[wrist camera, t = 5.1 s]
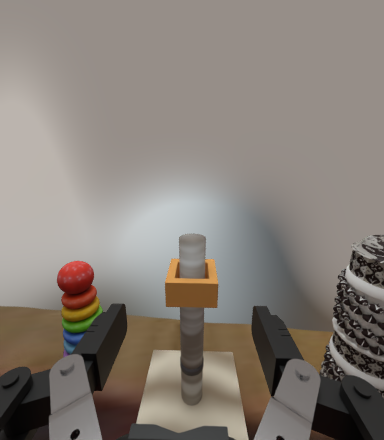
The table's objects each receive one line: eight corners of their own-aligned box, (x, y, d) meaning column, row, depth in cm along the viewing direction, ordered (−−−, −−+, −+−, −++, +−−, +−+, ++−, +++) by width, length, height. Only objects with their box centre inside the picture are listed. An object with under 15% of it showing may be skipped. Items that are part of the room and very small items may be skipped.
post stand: (251, 472, 23) (277, 270, 16) (129, 467, 24) (104, 267, 17) (232, 358, 37) (242, 221, 30) (154, 356, 37) (145, 220, 30)
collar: (217, 307, 22) (218, 283, 22) (165, 306, 23) (165, 282, 22) (213, 279, 28) (214, 259, 27) (172, 278, 28) (171, 258, 27)
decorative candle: (333, 359, 37) (366, 225, 30) (404, 411, 29) (469, 247, 22) (303, 386, 32) (333, 236, 25) (376, 457, 25) (448, 268, 18)
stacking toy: (120, 339, 41) (110, 252, 36) (105, 380, 33) (90, 277, 28) (79, 340, 40) (63, 252, 35) (55, 382, 33) (30, 278, 28)
